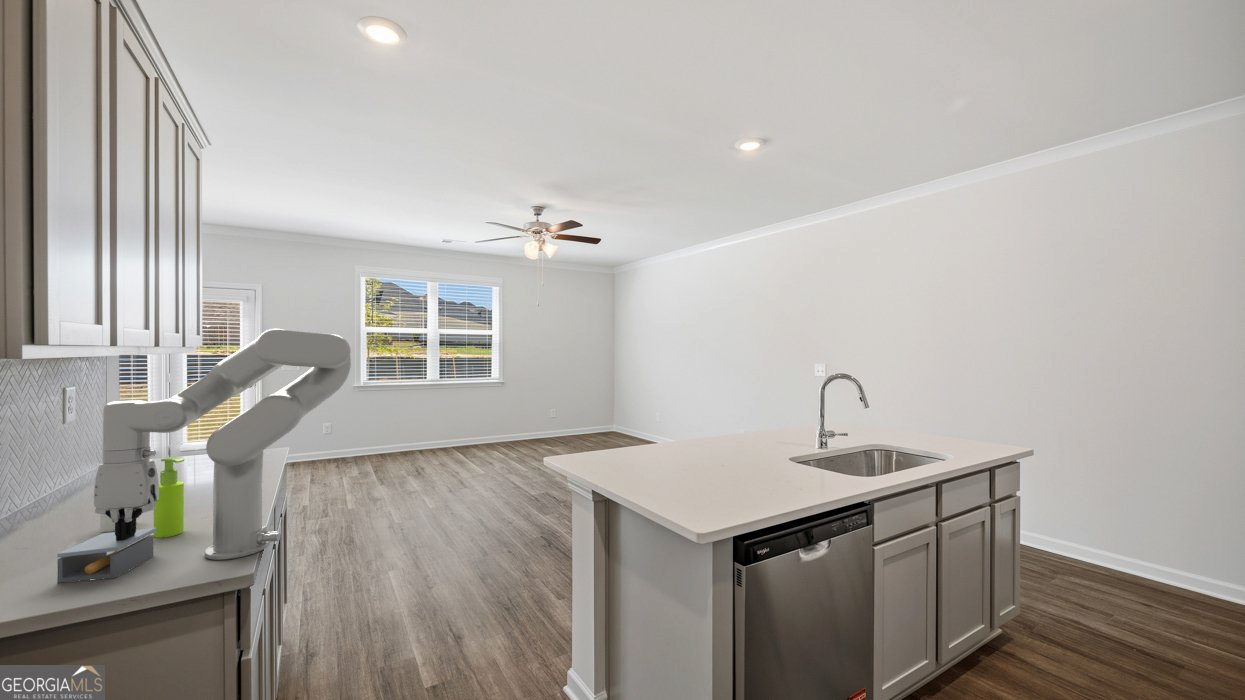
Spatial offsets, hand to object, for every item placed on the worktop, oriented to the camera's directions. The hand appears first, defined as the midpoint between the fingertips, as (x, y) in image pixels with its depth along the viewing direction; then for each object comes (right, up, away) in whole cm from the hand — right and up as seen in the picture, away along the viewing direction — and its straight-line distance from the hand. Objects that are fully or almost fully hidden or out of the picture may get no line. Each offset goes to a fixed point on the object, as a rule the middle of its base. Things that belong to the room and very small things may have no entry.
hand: (125, 538), depth 113 cm
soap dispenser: (-8, -7, +21) cm, 23 cm away
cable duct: (-3, -7, -1) cm, 7 cm away
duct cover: (-3, -1, -1) cm, 3 cm away
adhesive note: (-27, -7, +26) cm, 38 cm away
